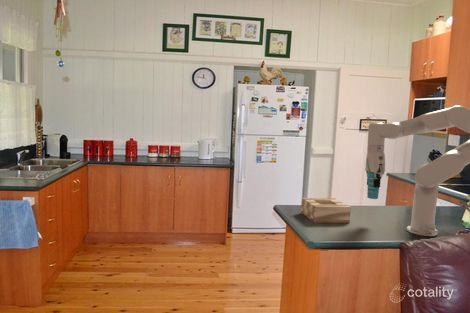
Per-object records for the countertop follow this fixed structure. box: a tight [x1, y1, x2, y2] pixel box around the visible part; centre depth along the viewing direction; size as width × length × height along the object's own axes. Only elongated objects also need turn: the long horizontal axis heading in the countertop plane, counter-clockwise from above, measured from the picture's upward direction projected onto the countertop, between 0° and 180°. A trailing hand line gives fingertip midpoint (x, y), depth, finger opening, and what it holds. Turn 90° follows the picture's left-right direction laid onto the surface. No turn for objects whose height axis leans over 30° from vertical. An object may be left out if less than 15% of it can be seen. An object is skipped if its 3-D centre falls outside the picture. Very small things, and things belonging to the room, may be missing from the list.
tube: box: [366, 158, 380, 200], centre depth 182 cm, size 7×5×19 cm, turn 60°
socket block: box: [300, 197, 352, 224], centre depth 190 cm, size 18×18×8 cm
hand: (373, 185), depth 183 cm, fingers closed on tube, 5 cm apart
